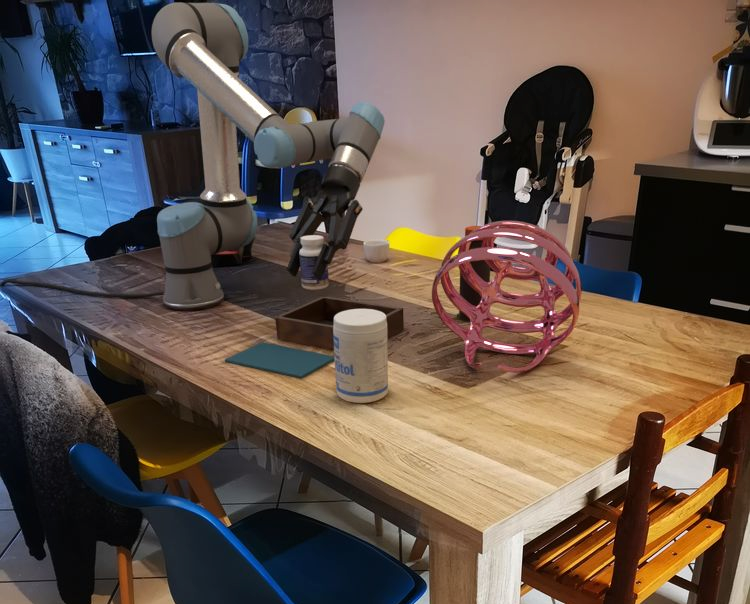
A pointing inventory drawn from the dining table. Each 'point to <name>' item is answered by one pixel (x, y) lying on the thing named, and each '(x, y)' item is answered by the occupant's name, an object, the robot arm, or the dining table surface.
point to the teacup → (376, 250)
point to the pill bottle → (311, 262)
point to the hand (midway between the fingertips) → (303, 274)
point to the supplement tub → (361, 355)
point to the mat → (281, 359)
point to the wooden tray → (304, 319)
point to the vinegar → (480, 269)
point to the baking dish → (232, 256)
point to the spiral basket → (492, 293)
